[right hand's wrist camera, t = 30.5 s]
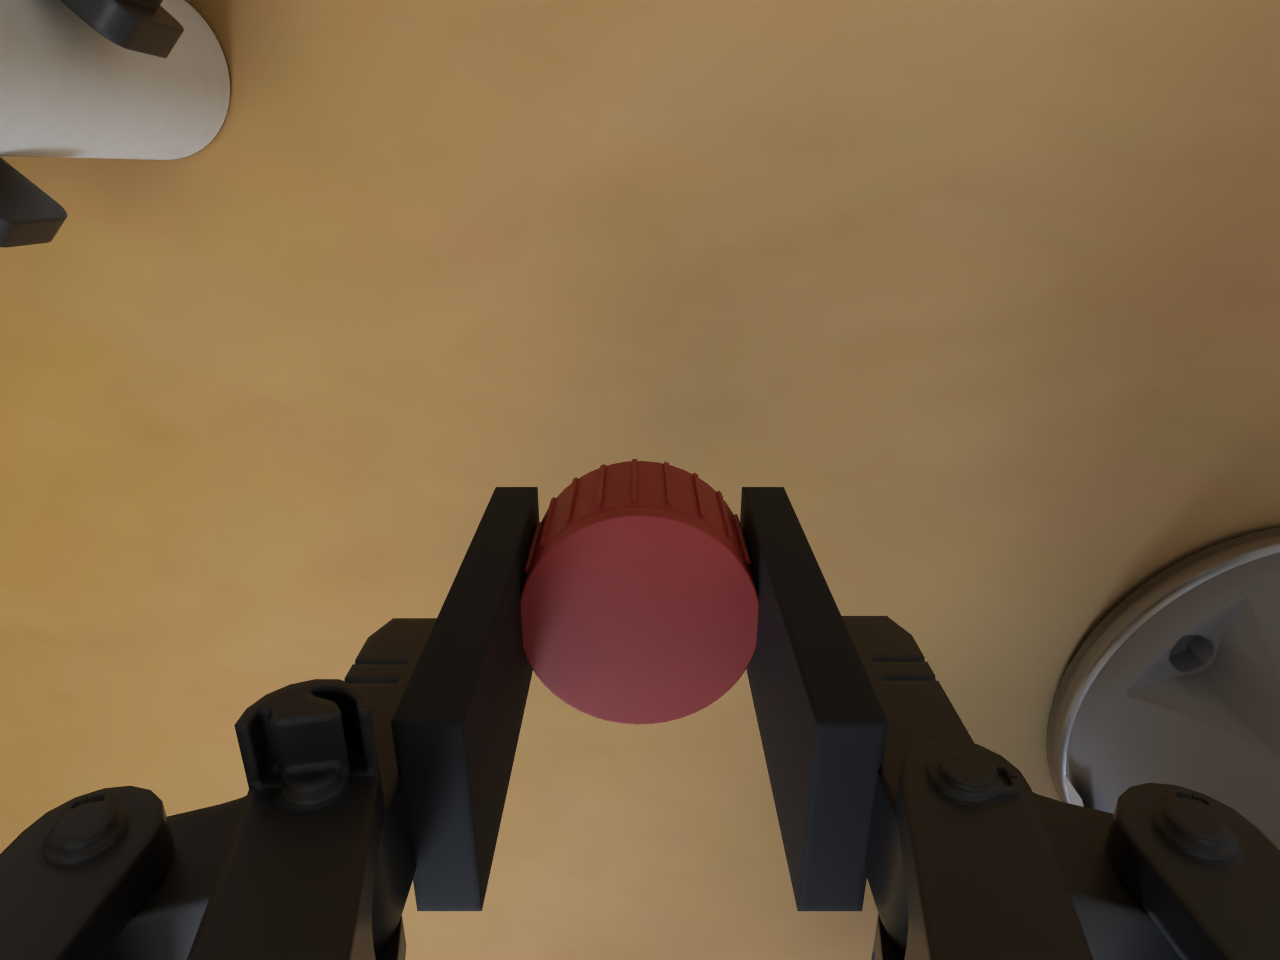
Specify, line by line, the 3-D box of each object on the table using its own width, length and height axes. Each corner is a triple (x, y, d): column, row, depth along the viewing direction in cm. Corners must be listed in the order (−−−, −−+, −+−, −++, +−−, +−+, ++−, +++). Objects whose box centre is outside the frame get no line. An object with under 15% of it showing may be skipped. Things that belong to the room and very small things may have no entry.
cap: (788, 559, 15) (815, 629, 12) (633, 681, 16) (633, 766, 13) (644, 411, 14) (646, 459, 11) (488, 553, 15) (462, 622, 12)
